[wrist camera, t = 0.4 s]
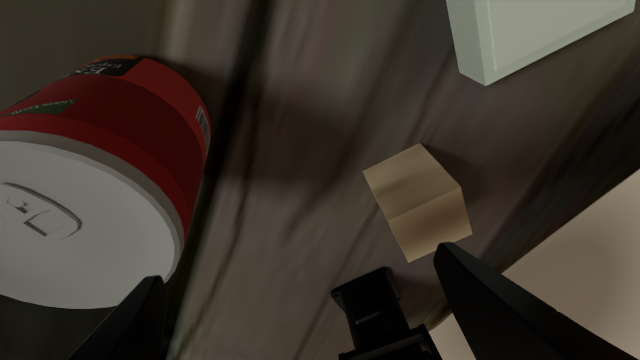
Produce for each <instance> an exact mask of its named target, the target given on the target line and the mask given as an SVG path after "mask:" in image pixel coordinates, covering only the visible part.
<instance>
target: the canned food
mask: <svg viewBox="0 0 640 360" xmlns="http://www.w3.org/2000/svg"><path fill="white" fill-rule="evenodd" d="M210 140H211V124H210V118H209V115H208V112H207V110H206V107H205V105H204V103H203V101H202V99H201V98H200V96H199V94H198V93H197V91H196V90H195V89H194V88H193V87H192V85H191V84H190V83H189V82H188V81H187V80H186V79H185V78H183V77H182V76H181V75H180V74H179V73H178V72H176V71H174V70H173V69H171V68H169V67H168V66H166V65H164V64H162V63H159V62H157V61H155V60H152V59H148V58H144V57H140V56H135V55H123V54H116V55H109V56H103V57H100V58H98V59H95V60H93V61H90V62H88V63H87V64H85V65H83V66H81V67H80V68H78V69H76V70H74V71H73V72H71V73H69V74H67V75H65V76H64V77H62V78H60V79H58V80H57V81H55V82H53V83H51V84H50V85H48V86H46V87H44V88H42V89H41V90H39V91H37V92H35V93H34V94H32V95H30V96H28V97H27V98H25V99H23V100H21V101H19V102H18V103H16V104H14V105H12V106H11V107H9V108H7V109H5V110H4V111H2V112H0V294H2V295H5V296H8V297H11V298H14V299H18V300H21V301H25V302H30V303H34V304H39V305H44V306H51V307H60V308H73V309H93V308H104V307H112V306H117V305H119V304H120V303H121V301H122V300H123V299H124V298H125V297H126V296H127V295H128V294H129V293H130V292H131V291H132V290H133V289H134V288H135V287H136V286H137V285H138V284H139V282H140V281H141V280H142V279H143V278H145V277H146V276H153V275H160V276H161V277H162V279H163V281H164V283H166V282H167V281H168V280H169V278H170V277H171V275H172V274H173V272H174V271H175V269H176V266H177V263H178V261H179V260H180V257H181V254H182V251H183V248H184V244H185V240H186V237H187V233H188V230H189V227H190V223H191V219H192V214H193V210H194V206H195V202H196V198H197V194H198V190H199V186H200V181H201V177H202V173H203V169H204V165H205V161H206V157H207V153H208V148H209V144H210Z"/></svg>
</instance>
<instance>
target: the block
mask: <svg viewBox="0 0 640 360" xmlns="http://www.w3.org/2000/svg"><path fill="white" fill-rule="evenodd" d="M362 172H363V174H364V176H365V178H366V180H367V182H368V184H369V186H370V188H371V190H372V192H373V194H374V196H375V198H376V200H377V202H378V204H379V206H380V208H381V210H382V212H383V214H384V216H385V218H386V220H387V222H388V224H389V226H390V228H391V230H392V232H393V234H394V235H395V237H396V239H397V241H398V243H399V245H400V247H401V249H402V251H403V253H404V255H405V257H406V259H407V261H408V262H411V261H413V260H416V259H418V258H420V257H422V256H424V255H427V254H429V253H431V252H433V251H436V249H437V246H438V244H439V243H442V242H452V243H453V242H456V241H458V240H460V239H462V238H465V237H467V236H469V235H471V234H472V230H471V226H470V222H469V218H468V214H467V210H466V206H465V202H464V198H463V194H462V190H461V186H460V185H459V184H458V183H457V182H456V181H455V180H454V179H453V178H452V177H451V176H450V175H449V174H448V172H447V171H446V170H445V169H444V168H443V167H442V166H441V165H440V164H439V163H438V162H437V161H436V160H435V159H434V157H433V156H432V155H431V154H430V153H429V152H428V151H427V150H426V149H425V148H424V147H423V146H422V145H421V144H420V143H419V144H417V145H415V146H413V147H411V148H408V149H406V150H404V151H402V152H400V153H398V154H396V155H394V156H392V157H390V158H388V159H386V160H384V161H382V162H380V163H378V164H376V165H374V166H372V167H370V168H368V169H366V170H364V171H362Z"/></svg>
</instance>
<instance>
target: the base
mask: <svg viewBox="0 0 640 360" xmlns="http://www.w3.org/2000/svg"><path fill="white" fill-rule="evenodd" d="M446 3H447V9H448V14H449V19H450V25H451V30H452V35H453V41H454V46H455V51H456V57H457V62H458V67H459V73H461V74H463V75H465V76H467V77H469V78H471V79H473V80H475V81H477V82H479V83H481V84H483V85H484V86H487V85H489V84H491V83H493V82H495V81H497V80H499V79H501V78H503V77H505V76H507V75H509V74H511V73H513V72H515V71H517V70H519V69H521V68H523V67H525V66H527V65H528V64H530V63H532V62H534V61H536V60H538V59H540V58H542V57H544V56H546V55H548V54H550V53H552V52H554V51H556V50H558V49H560V48H562V47H564V46H566V45H568V44H570V43H572V42H574V41H576V40H578V39H580V38H582V37H584V36H586V35H588V34H590V33H592V32H594V31H595V30H597V29H599V28H601V27H603V26H605V25H607V24H609V23H611V22H613V21H615V20H617V19H619V18H621V17H623V16H625V15H627V14H629V13H631V12H633V11H634V6H635V0H446Z"/></svg>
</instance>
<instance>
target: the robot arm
mask: <svg viewBox="0 0 640 360" xmlns="http://www.w3.org/2000/svg"><path fill="white" fill-rule="evenodd" d="M433 263H434V267H435V270H436V272H437V275H438V278H439V280H440V283H441V285H442V288H443V291H444V293H445V296H446V299H447V301H448V304H449V306H450V308H451V310H452V312H453V314H454V316H455V318H456V320H457V322H458V324H459V326H460V328H461V330H462V332H463V334H464V336H465V338H466V340H467V342H468V344H469V346H470V348H471V350H472V352H473V354H474V356H475V358H476V360H638V359H637V358H635V357H633V356H631V355H630V354H628V353H626V352H624V351H623V350H621V349H619V348H617V347H616V346H614V345H612V344H610V343H608V342H607V341H605V340H603V339H602V338H600V337H599V336H597V335H595V334H594V333H592V332H590V331H589V330H587V329H585V328H584V327H582V326H581V325H579V324H577V323H576V322H574V321H573V320H571V319H570V318H568V317H567V316H565V315H563V314H562V313H560V312H557V310H555V309H554V308H553V307H551V306H550V305H548V304H546V303H545V302H543V301H542V300H540V299H539V298H537V297H536V296H534V295H532V294H531V293H530V292H528V291H526V290H525V289H523V288H522V287H520V286H519V285H517V284H516V283H514V282H513V281H511V280H509V279H508V278H506V277H505V276H503V275H502V274H500V273H499V272H497V271H496V270H494V269H493V268H491V267H489V266H488V265H486V264H485V263H483V262H482V261H480V260H479V259H477V258H476V257H474V256H473V255H471V254H469V253H468V252H466V251H465V250H463V249H462V248H460V247H459V246H457V245H456V244H454V243H452V242H442V243H439V244H438V246H437V249H436V252H435V256H434V259H433ZM331 297H332V298H333V299H334V301H335V302H336V303H337V304H338V305H339V306H340V308H341V309H342V310H343V311H344V312H345V313H346V317H347V320H348V324H349V328H350V332H351V336H352V339H353V343H354V347H355V350H352V351H350V352H347V353H341V354H339V360H442V358H441V356H440V354H439V352H438V350H437V348H436V346H435V344H434V342H433V340H432V338H431V336H430V334H429V332H428V330H427V329H426V327H425V325H424V324H421V325H419V327H416V328H413V329H411V330H410V328H409V326H408V323H407V321H406V319H405V316H404V314H403V312H402V309H401V307H400V305H399V301H401V300H402V296H401V294H400V292H399V290H398V289H397V287H396V285H395V283H394V282H393V280H392V278H391V276H390V275H389V273H388V271H387V270H386V268H381V269H378V270H376V271H374V272H372V273H370V274H367V275H365V276H363V277H361V278H358V279H356V280H354V281H352V282H350V283H347V284H345V285H343V286H341V287H339V288H336V289H334V290H332V291H331ZM167 304H168V291H167V289H166V286H165V284H164V281H163V279H162V277H161V276H160V275H153V276H146V277H145V278H143V279H142V280H141V281H140V282H139V284H138V285H137V286H136V287H135V288H134V289H133V290H132V291H131V292H130V293H129V294H128V295H127V296H126V297H125V298H124V299H123V300H122V301H121V303H120V304H119V305H118V306H117V307H116V308H115V309H114V310H113V311H112V312H111V313H110V314H109V315H108V316H107V317H106V318H105V319H104V320H103V322H102V323H101V324H100V325H99V326H98V327H97V328H96V329H95V330H94V331H93V332H92V333H91V334H90V335H89V336H88V337H87V338H86V339H85V341H84V342H83V343H82V344H81V345H80V346H79V347H78V348H77V349H76V350H75V351H74V352H73V353H72V354H71V355H70V356H69V357H68V359H67V360H159V356H160V352H161V346H162V340H163V333H164V326H165V319H166V311H167Z"/></svg>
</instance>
